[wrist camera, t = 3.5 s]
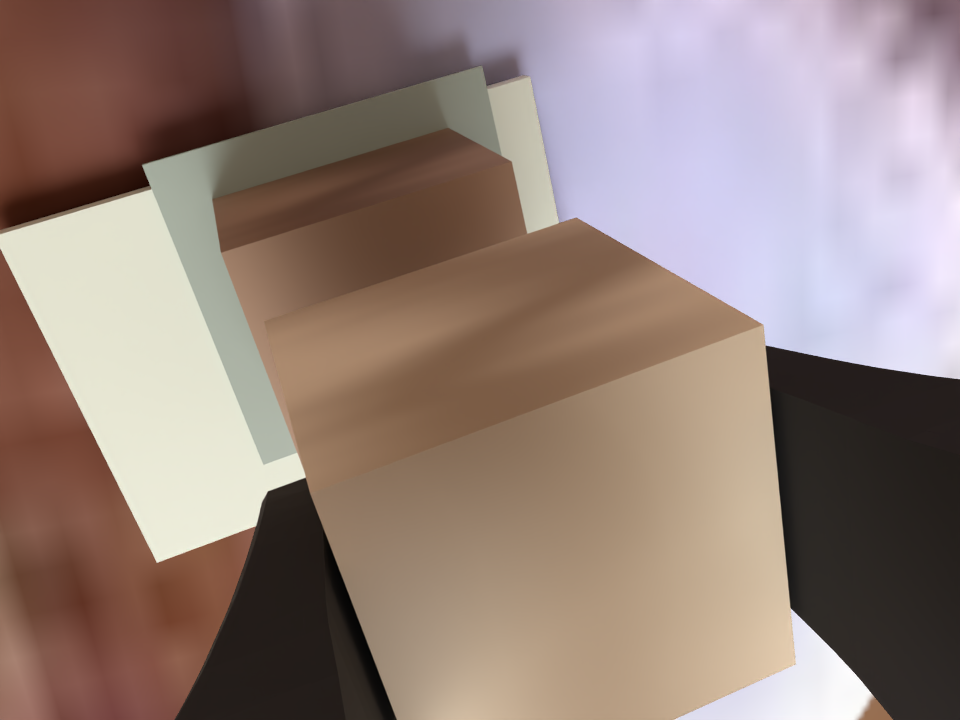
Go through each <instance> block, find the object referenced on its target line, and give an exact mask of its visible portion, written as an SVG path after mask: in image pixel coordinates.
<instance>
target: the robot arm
mask: <svg viewBox="0 0 960 720" xmlns="http://www.w3.org/2000/svg"><path fill="white" fill-rule="evenodd" d="M765 347H766V357H767V368H768V378H769V389H770V399H771V410H772V420H773V431H774V441H775V452H776V462H777V473H778V483H779V494H780V504H781V515H782V525H783V536H784V546H785V557H786V567H787V578H788V588H789V599H790V608H791V609H792V610H793V611H794V612H795V613H796V614H797V615H798V616H799V617H800V618H801V619H802V620H803V621H804V622H805V623H806V624H807V625H808V626H809V627H810V628H812V629H813V630H814V631H815V632H816V633H817V634H818V635H819V636H820V637H821V638H822V639H823V640H824V641H825V642H826V643H827V644H828V645H829V646H830V647H831V648H832V649H833V650H834V651H835V652H836V654H837V655H838V656H839V657H840V658H841V659H842V660H843V661H844V662H845V663H846V664H847V665H848V666H849V668H850V669H851V670H852V671H853V672H854V673H855V674H856V675H857V676H858V677H859V679H860V680H861V681H862V682H863V683H864V685H865V686H866V687H867V688H868V689H869V691H870V692H871V693H872V694H873V696H874V697H875V698H876V699H877V700H878V702H879V703H880V704H881V705H882V706H883V708H884V709H885V710H886V711H887V713H888V714H889V715H890V716H891V717H892V719H893V720H960V379H952V378H944V377H936V376H928V375H922V374H915V373H909V372H902V371H895V370H889V369H882V368H876V367H871V366H865V365H860V364H854V363H849V362H843V361H838V360H833V359H828V358H823V357H818V356H813V355H808V354H804V353H799V352H794V351H789V350H784V349H780V348H775V347H770V346H765ZM175 720H397V719H396V716H395V713H394V711H393V708H392V706H391V703H390V700H389V698H388V695H387V693H386V690H385V687H384V685H383V682H382V680H381V677H380V674H379V672H378V669H377V666H376V664H375V661H374V659H373V656H372V653H371V651H370V648H369V646H368V643H367V640H366V638H365V635H364V633H363V630H362V627H361V625H360V622H359V620H358V617H357V614H356V612H355V609H354V606H353V604H352V601H351V599H350V596H349V593H348V591H347V588H346V586H345V583H344V580H343V578H342V575H341V573H340V570H339V567H338V565H337V562H336V559H335V557H334V554H333V552H332V549H331V546H330V544H329V541H328V539H327V536H326V533H325V531H324V528H323V526H322V523H321V520H320V518H319V515H318V513H317V510H316V507H315V505H314V502H313V499H312V497H311V494H310V491H309V487H308V484H307V480H306V478H303V479H300V480H297V481H295V482H292V483H289V484H287V485H284V486H281V487H278V488H276V489H273V490H270V491H268V492H267V494H266V496H265V497H264V499H263V501H262V503H261V508H260V513H259V517H258V521H257V525H256V528H255V532H254V536H253V539H252V542H251V546H250V549H249V552H248V555H247V558H246V562H245V564H244V567H243V570H242V573H241V576H240V578H239V581H238V584H237V587H236V589H235V592H234V595H233V598H232V600H231V603H230V606H229V608H228V611H227V613H226V616H225V618H224V620H223V622H222V625H221V627H220V629H219V631H218V634H217V636H216V638H215V640H214V643H213V645H212V647H211V650H210V652H209V654H208V656H207V659H206V661H205V663H204V665H203V667H202V669H201V671H200V673H199V675H198V677H197V679H196V681H195V683H194V685H193V687H192V689H191V691H190V693H189V695H188V697H187V698H186V700H185V702H184V704H183V706H182V708H181V709H180V711H179V713H178V715H177V716H176V718H175Z"/></svg>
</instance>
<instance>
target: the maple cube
mask: <svg viewBox="0 0 960 720" xmlns="http://www.w3.org/2000/svg"><path fill="white" fill-rule="evenodd" d="M264 324H265V328H266V332H267V335H268V339H269V343H270V346H271V350H272V354H273V358H274V361H275V365H276V369H277V372H278V376H279V380H280V383H281V387H282V391H283V395H284V398H285V402H286V406H287V409H288V413H289V417H290V421H291V424H292V428H293V432H294V435H295V439H296V443H297V446H298V450H299V454H300V458H301V461H302V465H303V469H304V472H305V476H306V480H307V484H308V487H309V491H310V494H311V497H312V499H313V502H314V505H315V507H316V510H317V513H318V515H319V518H320V520H321V523H322V526H323V528H324V531H325V533H326V536H327V539H328V541H329V544H330V546H331V549H332V552H333V554H334V557H335V559H336V562H337V565H338V567H339V570H340V573H341V575H342V578H343V580H344V583H345V586H346V588H347V591H348V593H349V596H350V599H351V601H352V604H353V606H354V609H355V612H356V614H357V617H358V620H359V622H360V625H361V627H362V630H363V633H364V635H365V638H366V640H367V643H368V646H369V648H370V651H371V653H372V656H373V659H374V661H375V664H376V666H377V669H378V672H379V674H380V677H381V680H382V682H383V685H384V687H385V690H386V693H387V695H388V698H389V700H390V703H391V706H392V708H393V711H394V713H395V716H396V719H397V720H674V719H676V718H678V717H680V716H683V715H685V714H687V713H689V712H691V711H694V710H696V709H698V708H700V707H703V706H705V705H707V704H709V703H711V702H714V701H716V700H718V699H720V698H722V697H725V696H727V695H729V694H731V693H733V692H736V691H738V690H740V689H742V688H744V687H747V686H749V685H751V684H753V683H755V682H758V681H760V680H762V679H764V678H766V677H769V676H771V675H773V674H775V673H777V672H780V671H782V670H784V669H786V668H789V667H791V666H793V665H795V664H796V662H795V651H794V641H793V630H792V620H791V609H790V599H789V588H788V578H787V567H786V557H785V546H784V536H783V525H782V515H781V504H780V494H779V483H778V473H777V462H776V452H775V441H774V431H773V420H772V410H771V399H770V389H769V378H768V368H767V357H766V347H765V336H764V326H763V324H761V323H759V322H758V321H756V320H754V319H752V318H751V317H749V316H747V315H745V314H744V313H742V312H740V311H738V310H737V309H735V308H733V307H731V306H730V305H728V304H726V303H724V302H723V301H721V300H719V299H717V298H716V297H714V296H712V295H710V294H709V293H707V292H705V291H703V290H702V289H700V288H698V287H696V286H695V285H693V284H691V283H690V282H688V281H686V280H684V279H683V278H681V277H679V276H677V275H676V274H674V273H672V272H670V271H669V270H667V269H665V268H663V267H662V266H660V265H658V264H656V263H655V262H653V261H651V260H649V259H648V258H646V257H644V256H642V255H641V254H639V253H637V252H635V251H634V250H632V249H630V248H628V247H627V246H625V245H623V244H622V243H620V242H618V241H616V240H615V239H613V238H611V237H609V236H608V235H606V234H604V233H602V232H601V231H599V230H597V229H595V228H594V227H592V226H590V225H588V224H587V223H585V222H583V221H581V220H580V219H578V218H573V219H570V220H567V221H564V222H561V223H558V224H555V225H552V226H549V227H546V228H543V229H540V230H537V231H534V232H531V233H528V234H525V235H522V236H519V237H516V238H513V239H510V240H507V241H504V242H501V243H498V244H495V245H492V246H489V247H486V248H483V249H480V250H477V251H474V252H471V253H468V254H465V255H462V256H459V257H456V258H453V259H450V260H447V261H444V262H441V263H438V264H435V265H432V266H429V267H426V268H423V269H420V270H417V271H414V272H411V273H408V274H405V275H402V276H399V277H396V278H393V279H390V280H387V281H384V282H381V283H378V284H375V285H372V286H369V287H366V288H363V289H360V290H357V291H354V292H351V293H348V294H345V295H342V296H339V297H336V298H333V299H330V300H327V301H324V302H321V303H318V304H315V305H312V306H309V307H306V308H303V309H300V310H297V311H293V312H290V313H287V314H284V315H281V316H278V317H275V318H272V319H269V320H266V321H264Z"/></svg>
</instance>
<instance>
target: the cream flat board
mask: <svg viewBox="0 0 960 720" xmlns="http://www.w3.org/2000/svg"><path fill="white" fill-rule="evenodd" d="M446 128H450V129H451V130H453V131H455V132H457V133H459V134H461V135H463V136H465V137H467V138H468V139H470V140H472V141H474V142H476V143H478V144H480V145H482V146H484V147H485V148H487V149H489V150H491V151H493V152H495V153H497V154H499V155H501V156H503V157H504V158H506V159H508V160H510V161H512V165H513V169H514V174H515V179H516V183H517V188H518V193H519V197H520V202H521V207H522V211H523V216H524V221H525V225H526V230H527V234H528V233H531V232H534V231H537V230H540V229H543V228H546V227H549V226H552V225H555V224H558V223H559V220H558V215H557V210H556V205H555V200H554V195H553V190H552V185H551V180H550V175H549V170H548V165H547V160H546V155H545V150H544V144H543V139H542V134H541V129H540V124H539V119H538V114H537V109H536V104H535V99H534V94H533V89H532V84H531V79H530V77H529V76H525V75H522V76H519V77H516V78H512V79H509V80H505V81H502V82H499V83H495V84H492V85H489V86H486V81H485V77H484V72H483V68H482V66H477V67H474V68H471V69H467V70H464V71H460V72H457V73H453V74H450V75H447V76H443V77H440V78H436V79H433V80H429V81H426V82H423V83H419V84H416V85H412V86H409V87H405V88H402V89H399V90H395V91H392V92H388V93H385V94H381V95H378V96H375V97H371V98H368V99H364V100H361V101H357V102H354V103H351V104H347V105H344V106H340V107H337V108H333V109H330V110H327V111H323V112H320V113H316V114H313V115H309V116H306V117H303V118H299V119H296V120H292V121H289V122H285V123H282V124H279V125H275V126H272V127H268V128H265V129H261V130H258V131H255V132H251V133H248V134H244V135H241V136H237V137H234V138H231V139H227V140H224V141H220V142H217V143H213V144H210V145H207V146H203V147H200V148H196V149H193V150H189V151H186V152H183V153H179V154H176V155H172V156H169V157H165V158H162V159H159V160H155V161H152V162H148V163H145V164H142V166H143V169H144V171H145V174H146V176H147V179H148V181H149V184H150V186H148V187H145V188H141V189H138V190H134V191H131V192H128V193H124V194H121V195H118V196H114V197H111V198H107V199H104V200H101V201H97V202H94V203H91V204H87V205H84V206H80V207H77V208H74V209H70V210H67V211H64V212H60V213H57V214H53V215H50V216H47V217H43V218H40V219H37V220H33V221H30V222H26V223H23V224H20V225H16V226H13V227H10V228H6V229H3V230H0V249H1V251H2V253H3V255H4V257H5V259H6V261H7V263H8V265H9V267H10V269H11V271H12V273H13V275H14V277H15V279H16V281H17V283H18V285H19V287H20V289H21V291H22V293H23V295H24V297H25V299H26V301H27V303H28V305H29V307H30V309H31V311H32V313H33V315H34V317H35V319H36V321H37V323H38V325H39V327H40V329H41V331H42V333H43V335H44V337H45V339H46V341H47V343H48V345H49V347H50V349H51V351H52V353H53V355H54V357H55V359H56V361H57V363H58V365H59V367H60V369H61V371H62V373H63V375H64V377H65V379H66V381H67V383H68V385H69V387H70V389H71V391H72V393H73V395H74V397H75V399H76V401H77V403H78V405H79V407H80V409H81V411H82V413H83V415H84V417H85V419H86V421H87V423H88V425H89V427H90V429H91V431H92V433H93V435H94V437H95V439H96V441H97V443H98V445H99V447H100V449H101V451H102V453H103V455H104V457H105V459H106V461H107V463H108V465H109V467H110V469H111V471H112V473H113V475H114V477H115V479H116V481H117V483H118V485H119V487H120V489H121V491H122V493H123V495H124V497H125V499H126V501H127V503H128V505H129V507H130V509H131V511H132V513H133V515H134V517H135V519H136V521H137V523H138V525H139V527H140V529H141V531H142V533H143V535H144V537H145V539H146V541H147V543H148V545H149V547H150V549H151V551H152V553H153V555H154V557H155V559H156V561H157V562H160V561H163V560H165V559H168V558H171V557H174V556H176V555H179V554H182V553H184V552H187V551H190V550H192V549H195V548H198V547H200V546H203V545H206V544H208V543H211V542H214V541H217V540H219V539H222V538H225V537H227V536H230V535H233V534H235V533H238V532H241V531H243V530H246V529H249V528H251V527H254V526H256V525H257V521H258V517H259V513H260V508H261V503H262V501H263V499H264V497H265V496H266V494H267V492H268V491H270V490H273V489H276V488H278V487H281V486H284V485H287V484H289V483H292V482H295V481H297V480H300V479H303V478H306V476H305V472H304V469H303V467H302V464H301V461H300V459H299V456H298V454H297V451H296V448H295V446H294V443H293V440H292V438H291V435H290V433H289V430H288V427H287V425H286V422H285V419H284V417H283V414H282V412H281V409H280V406H279V404H278V401H277V399H276V396H275V393H274V391H273V388H272V385H271V383H270V380H269V378H268V375H267V372H266V370H265V367H264V364H263V362H262V359H261V357H260V354H259V351H258V349H257V346H256V344H255V341H254V338H253V336H252V333H251V330H250V328H249V325H248V323H247V320H246V317H245V315H244V312H243V309H242V307H241V304H240V302H239V299H238V296H237V294H236V291H235V289H234V286H233V283H232V281H231V278H230V275H229V273H228V270H227V268H226V265H225V262H224V260H223V257H222V254H221V251H220V244H219V238H218V232H217V226H216V220H215V214H214V208H213V202H212V199H215V198H218V197H221V196H225V195H228V194H231V193H235V192H238V191H241V190H245V189H248V188H251V187H254V186H258V185H261V184H264V183H268V182H271V181H274V180H278V179H281V178H284V177H287V176H291V175H294V174H297V173H301V172H304V171H307V170H311V169H314V168H317V167H320V166H324V165H327V164H330V163H334V162H337V161H340V160H344V159H347V158H350V157H353V156H357V155H360V154H363V153H367V152H370V151H373V150H377V149H380V148H383V147H386V146H390V145H393V144H396V143H400V142H403V141H406V140H410V139H413V138H416V137H420V136H423V135H426V134H429V133H433V132H436V131H439V130H443V129H446Z"/></svg>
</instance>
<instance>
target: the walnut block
mask: <svg viewBox="0 0 960 720" xmlns="http://www.w3.org/2000/svg"><path fill="white" fill-rule="evenodd" d="M212 202H213V208H214V214H215V220H216V226H217V232H218V238H219V244H220V251H221V254H222V257H223V260H224V262H225V265H226V268H227V270H228V273H229V275H230V278H231V281H232V283H233V286H234V289H235V291H236V294H237V296H238V299H239V302H240V304H241V307H242V309H243V312H244V315H245V317H246V320H247V323H248V325H249V328H250V330H251V333H252V336H253V338H254V341H255V344H256V346H257V349H258V351H259V354H260V357H261V359H262V362H263V364H264V367H265V370H266V372H267V375H268V378H269V380H270V383H271V385H272V388H273V391H274V393H275V396H276V399H277V401H278V404H279V406H280V409H281V412H282V414H283V417H284V419H285V422H286V425H287V427H288V430H289V433H290V435H291V438H292V440H293V443H294V446H295V448H296V451H297V454H298V456H299V459H300V461H301V458H300V454H299V450H298V446H297V443H296V439H295V435H294V432H293V428H292V424H291V421H290V417H289V413H288V409H287V406H286V402H285V398H284V395H283V391H282V387H281V383H280V380H279V376H278V372H277V369H276V365H275V361H274V358H273V354H272V350H271V346H270V343H269V339H268V335H267V332H266V328H265V324H264V321H266V320H269V319H272V318H275V317H278V316H281V315H284V314H287V313H290V312H293V311H297V310H300V309H303V308H306V307H309V306H312V305H315V304H318V303H321V302H324V301H327V300H330V299H333V298H336V297H339V296H342V295H345V294H348V293H351V292H354V291H357V290H360V289H363V288H366V287H369V286H372V285H375V284H378V283H381V282H384V281H387V280H390V279H393V278H396V277H399V276H402V275H405V274H408V273H411V272H414V271H417V270H420V269H423V268H426V267H429V266H432V265H435V264H438V263H441V262H444V261H447V260H450V259H453V258H456V257H459V256H462V255H465V254H468V253H471V252H474V251H477V250H480V249H483V248H486V247H489V246H492V245H495V244H498V243H501V242H504V241H507V240H510V239H513V238H516V237H519V236H522V235H525V234H527V230H526V225H525V221H524V216H523V211H522V207H521V202H520V197H519V193H518V188H517V183H516V179H515V174H514V169H513V165H512V161H510V160H508V159H506V158H504V157H503V156H501V155H499V154H497V153H495V152H493V151H491V150H489V149H487V148H485V147H484V146H482V145H480V144H478V143H476V142H474V141H472V140H470V139H468V138H467V137H465V136H463V135H461V134H459V133H457V132H455V131H453V130H451V129H450V128H446V129H443V130H439V131H436V132H433V133H429V134H426V135H423V136H420V137H416V138H413V139H410V140H406V141H403V142H400V143H396V144H393V145H390V146H386V147H383V148H380V149H377V150H373V151H370V152H367V153H363V154H360V155H357V156H353V157H350V158H347V159H344V160H340V161H337V162H334V163H330V164H327V165H324V166H320V167H317V168H314V169H311V170H307V171H304V172H301V173H297V174H294V175H291V176H287V177H284V178H281V179H278V180H274V181H271V182H268V183H264V184H261V185H258V186H254V187H251V188H248V189H245V190H241V191H238V192H235V193H231V194H228V195H225V196H221V197H218V198H215V199H212ZM301 464H302V461H301ZM302 467H303V465H302Z"/></svg>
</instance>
